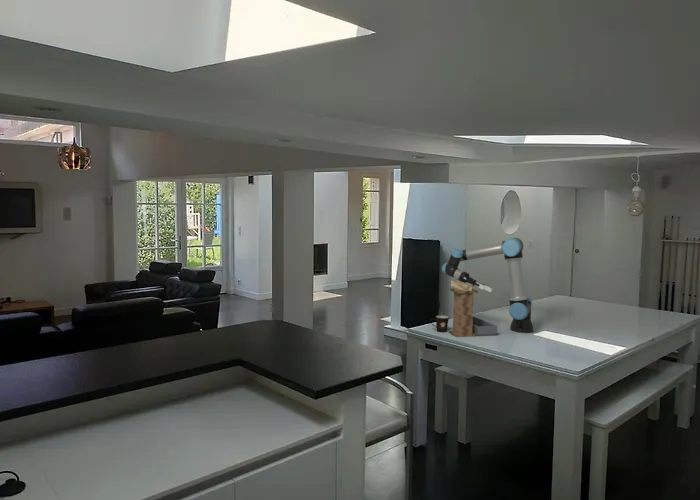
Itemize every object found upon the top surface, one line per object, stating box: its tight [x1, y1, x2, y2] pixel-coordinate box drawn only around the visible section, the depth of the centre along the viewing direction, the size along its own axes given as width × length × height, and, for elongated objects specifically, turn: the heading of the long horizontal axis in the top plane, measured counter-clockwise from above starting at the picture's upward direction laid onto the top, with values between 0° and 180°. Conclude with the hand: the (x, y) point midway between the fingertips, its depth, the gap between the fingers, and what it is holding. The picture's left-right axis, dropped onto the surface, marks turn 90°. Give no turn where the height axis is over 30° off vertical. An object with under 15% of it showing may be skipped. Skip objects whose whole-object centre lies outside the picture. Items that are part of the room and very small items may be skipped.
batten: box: [450, 279, 473, 291], centre depth 353 cm, size 4×22×4 cm, turn 15°
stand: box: [448, 287, 479, 338], centre depth 350 cm, size 14×12×30 cm
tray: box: [472, 315, 498, 337], centre depth 365 cm, size 14×32×6 cm, turn 15°
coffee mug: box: [430, 315, 450, 333], centre depth 359 cm, size 12×9×10 cm
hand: (487, 289), depth 356 cm, fingers open, 13 cm apart
